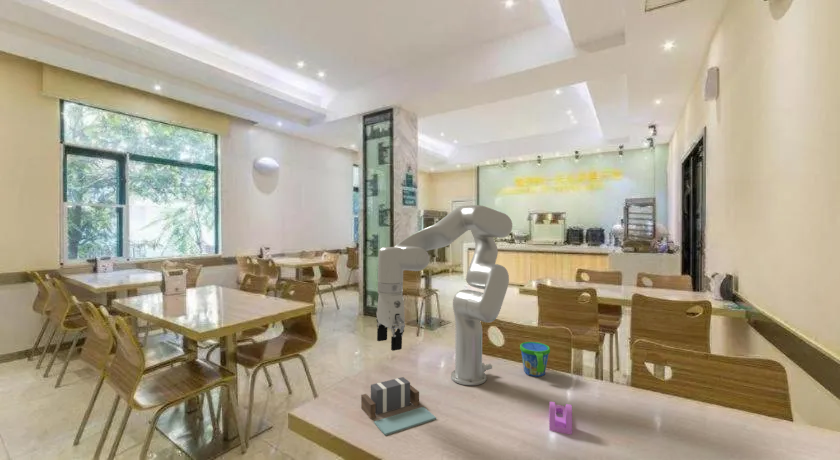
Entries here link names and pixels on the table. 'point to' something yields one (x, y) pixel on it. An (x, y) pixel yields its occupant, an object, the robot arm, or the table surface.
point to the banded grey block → (390, 395)
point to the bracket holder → (370, 406)
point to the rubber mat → (404, 420)
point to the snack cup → (534, 358)
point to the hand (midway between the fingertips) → (388, 344)
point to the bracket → (560, 418)
